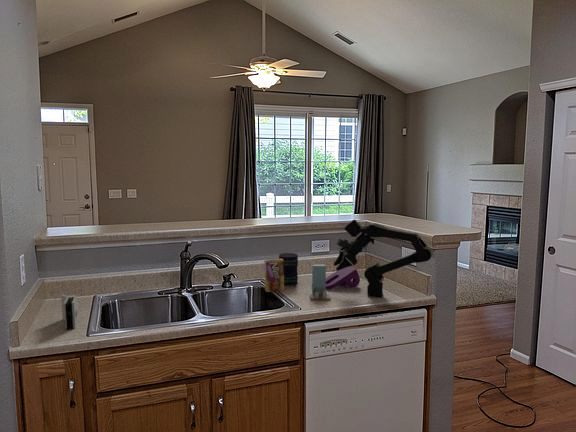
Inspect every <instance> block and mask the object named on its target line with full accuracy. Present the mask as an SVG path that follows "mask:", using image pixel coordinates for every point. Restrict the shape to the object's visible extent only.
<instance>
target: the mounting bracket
mask: <svg viewBox="0 0 576 432" xmlns="http://www.w3.org/2000/svg"><path fill="white" fill-rule="evenodd" d="M360 282H361V277H360V275H359V272H358V270H357V268H355V267H353V266H349V267H346V268H344V269H341V270H338V271H337V270H336V271H335V272H332V273H331V274H330V275H329V276H326V291H327V290H332V289H335V288H337V287H338V286H340V285H345V286H346V287H347V288H349V289H354V288H357V287H358V286H359V284H360Z"/></svg>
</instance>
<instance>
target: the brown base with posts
mask: <svg viewBox="0 0 576 432" xmlns="http://www.w3.org/2000/svg"><path fill="white" fill-rule="evenodd" d="M327 293H328V291H327V290H326V291H325V288H321V294H319V292H318V288H314V294H312V293H310V294H309V299H310V301H311V302H313V301H314V302H315V301H316V302H317V301H318V302H319V301H321V302H323V301H324V302H325V301H326V302H327V301H331V300H332V299H331V296H330V294H329V293H328V294H327Z"/></svg>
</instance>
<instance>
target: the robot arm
mask: <svg viewBox="0 0 576 432" xmlns="http://www.w3.org/2000/svg"><path fill="white" fill-rule="evenodd" d="M343 230H344V231H345V232H347V234H348V235H349V236H351V238H355V239H354V240H351V241H348V239H345V238H344V239H343V238H341V237H339V238H338V240H337V242H336V245H337V246H338V247H339V250H338V252H339V253H338V256H337V258H336V259H335V261H334V263H333V266H334V267H336V266H337V267H336V268H335V269H336V271H338V270H341V269H344V268H346V267H349V266H350V267H353V266H356V265H357V264H358V259H357V256H358V255H359V254H360V253H363V250H364V249H365V248H366V247H367V246H368V245H369V244H370V243H371V244H372V245H375V240H376V238H389V239H394V240H398V241H403V242H408V243H411V245H412V247H413V248H414V252H412V253H410V254H409V255H405V256H403V257H401V258H400V257H399V258H397V259H395V260H392V261H389V262H386V263H382V264H380V262H379V261H377V262H376V263H373V264H372V263H371V264H370V265H369V266H368V267H367V268H366V270H365V271H364V274H363V275H364V277H365V279H366V280H367V283H368V284H367V289H366V290H367V293H366V294H367V297H370V298H381V299H382V298H383V294H384V290H383V289H384V286H383V285H384V282H383V281H384V279H385V276H384V274H386V273H389V272H392V271H394V270H397V269H401V268H403V267H406V266H409V265H411V264H416V263H423V262H425V263H426V262H428V261H430V260H431V258H432V257H433V255H434V251H433V249H432V248H431V247H430V246H428V244H426V242H425V240H423V239H422V238H421V237H420V236H419V234H418V233H416V232H410V231H409V232H408V231H403V230H399V229H393V228H388V227H386V226H384V225H382V224H379V223H370V224H369V225H368V226H362V225H361V224H360V223H359V222H358V221H357V220H356V219H352V220H351V221H350V222H349V223H348V224H347V225H346V226H345V227H344V228H343Z"/></svg>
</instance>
